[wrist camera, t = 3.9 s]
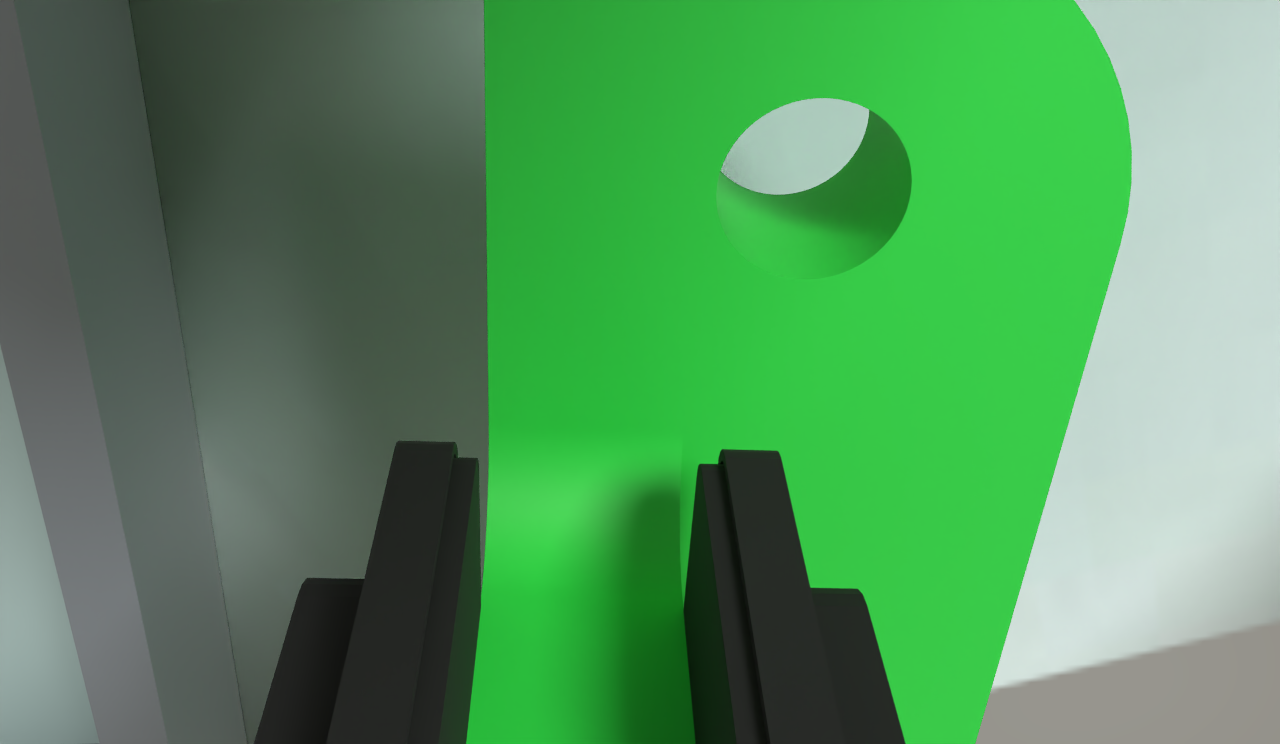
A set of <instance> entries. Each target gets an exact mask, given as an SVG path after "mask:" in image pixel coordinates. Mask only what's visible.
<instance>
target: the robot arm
mask: <svg viewBox="0 0 1280 744" xmlns="http://www.w3.org/2000/svg"><path fill="white" fill-rule="evenodd" d="M480 612H481V571H480V509H479V463H478V458H458V453H457V445H456V443H455V442H421V441H398V442H397V443H396V446H395V450H394V454H393V458H392V463H391V467H390V471H389V475H388V480H387V484H386V488H385V493H384V497H383V501H382V506H381V510H380V514H379V518H378V523H377V527H376V531H375V536H374V540H373V544H372V548H371V553H370V557H369V561H368V566H367V570H366V574H365V579H331V578H307V579H306V580H305V581H304V582H303V584H302V586H301V589H300V591H299V594H298V597H297V600H296V604H295V607H294V610H293V614H292V617H291V620H290V624H289V627H288V630H287V634H286V637H285V641H284V644H283V647H282V651H281V654H280V657H279V661H278V664H277V668H276V671H275V674H274V678H273V681H272V684H271V688H270V691H269V695H268V698H267V701H266V705H265V708H264V711H263V715H262V718H261V722H260V725H259V728H258V732H257V735H256V738H255V742H254V744H466V741H467V731H468V722H469V713H470V704H471V695H472V686H473V676H474V667H475V658H476V649H477V640H478V631H479V621H480ZM683 613H684V624H685V635H686V646H687V657H688V667H689V678H690V689H691V700H692V711H693V722H694V733H695V744H906V743H905V740H904V736H903V732H902V729H901V725H900V722H899V718H898V714H897V711H896V707H895V704H894V700H893V696H892V693H891V689H890V686H889V682H888V678H887V675H886V671H885V668H884V664H883V660H882V657H881V653H880V650H879V646H878V642H877V639H876V635H875V631H874V628H873V624H872V621H871V617H870V613H869V610H868V606H867V604H866V601H865V598H864V596H863V594H862V593H861V592H860V590H859V589H853V588H810V584H809V579H808V575H807V570H806V566H805V561H804V557H803V552H802V548H801V544H800V539H799V535H798V530H797V526H796V521H795V517H794V512H793V508H792V503H791V499H790V494H789V490H788V486H787V481H786V477H785V472H784V468H783V463H782V459H781V456H780V453H779V452H778V451H772V450H734V449H722V450H721V451H720V455H719V459H718V464H699V466H698V470H697V478H696V488H695V498H694V508H693V518H692V528H691V538H690V548H689V558H688V568H687V578H686V588H685V598H684V608H683Z"/></svg>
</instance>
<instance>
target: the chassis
mask: <svg viewBox="0 0 1280 744" xmlns="http://www.w3.org/2000/svg"><path fill="white" fill-rule="evenodd" d="M0 744H247V739H246V733H245V727H244V721H243V714H242V708H241V702H240V696H239V689H238V683H237V677H236V671H235V664H234V658H233V652H232V645H231V639H230V633H229V627H228V620H227V614H226V608H225V602H224V595H223V589H222V583H221V577H220V570H219V564H218V558H217V552H216V545H215V539H214V533H213V527H212V520H211V514H210V508H209V501H208V495H207V489H206V483H205V476H204V470H203V464H202V458H201V451H200V445H199V439H198V433H197V426H196V420H195V414H194V408H193V401H192V395H191V389H190V383H189V376H188V370H187V364H186V357H185V351H184V345H183V339H182V332H181V326H180V320H179V314H178V307H177V301H176V295H175V289H174V282H173V276H172V270H171V264H170V257H169V251H168V245H167V239H166V232H165V226H164V220H163V213H162V207H161V201H160V195H159V188H158V182H157V176H156V170H155V163H154V157H153V151H152V145H151V138H150V132H149V126H148V120H147V113H146V107H145V101H144V95H143V88H142V82H141V76H140V69H139V63H138V57H137V51H136V44H135V38H134V32H133V26H132V19H131V13H130V7H129V1H128V0H0Z"/></svg>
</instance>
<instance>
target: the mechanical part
mask: <svg viewBox="0 0 1280 744" xmlns="http://www.w3.org/2000/svg"><path fill="white" fill-rule="evenodd" d="M484 46H485V138H486V230H487V321H488V413H489V463H488V501H487V524H486V542H485V558H484V571H483V583H482V593H481V612H480V621H479V631H478V640H477V649H476V658H475V667H474V676H473V686H472V695H471V704H470V713H469V722H468V731H467V741H466V744H695V733H694V722H693V711H692V700H691V689H690V678H689V667H688V657H687V646H686V635H685V624H684V613H683V608H684V598H685V588H686V578H687V568H688V558H689V548H690V538H691V528H692V518H693V508H694V498H695V488H696V478H697V470H698V466H699V464H718V459H719V455H720V451H721V450H722V449H734V450H772V451H778V452H779V453H780V456H781V459H782V463H783V468H784V472H785V477H786V481H787V486H788V490H789V494H790V499H791V503H792V508H793V512H794V517H795V521H796V526H797V530H798V535H799V539H800V544H801V548H802V552H803V557H804V561H805V566H806V570H807V575H808V579H809V584H810V588H853V589H859V590H860V592H861V593H862V594H863V596H864V598H865V601H866V604H867V606H868V610H869V613H870V617H871V621H872V624H873V628H874V631H875V635H876V639H877V642H878V646H879V650H880V653H881V657H882V660H883V664H884V668H885V671H886V675H887V678H888V682H889V686H890V689H891V693H892V696H893V700H894V704H895V707H896V711H897V714H898V718H899V722H900V725H901V729H902V732H903V736H904V740H905V743H906V744H975V743H976V739H977V735H978V732H979V729H980V725H981V722H982V719H983V715H984V711H985V708H986V705H987V701H988V698H989V694H990V691H991V688H992V684H993V681H994V677H995V674H996V670H997V667H998V663H999V660H1000V657H1001V653H1002V650H1003V646H1004V643H1005V639H1006V636H1007V632H1008V629H1009V626H1010V622H1011V619H1012V615H1013V612H1014V608H1015V605H1016V601H1017V598H1018V595H1019V591H1020V588H1021V584H1022V581H1023V577H1024V574H1025V571H1026V567H1027V564H1028V560H1029V557H1030V553H1031V550H1032V546H1033V543H1034V540H1035V536H1036V533H1037V529H1038V526H1039V522H1040V519H1041V515H1042V512H1043V509H1044V505H1045V502H1046V498H1047V495H1048V491H1049V488H1050V484H1051V481H1052V478H1053V474H1054V471H1055V467H1056V464H1057V460H1058V457H1059V453H1060V450H1061V447H1062V443H1063V440H1064V436H1065V433H1066V429H1067V426H1068V423H1069V419H1070V416H1071V412H1072V409H1073V405H1074V402H1075V398H1076V395H1077V392H1078V388H1079V385H1080V381H1081V378H1082V374H1083V371H1084V367H1085V364H1086V361H1087V357H1088V354H1089V350H1090V347H1091V343H1092V340H1093V336H1094V333H1095V330H1096V326H1097V323H1098V319H1099V316H1100V312H1101V309H1102V306H1103V302H1104V299H1105V295H1106V292H1107V288H1108V285H1109V281H1110V278H1111V275H1112V271H1113V268H1114V264H1115V261H1116V257H1117V254H1118V250H1119V247H1120V244H1121V239H1122V235H1123V231H1124V226H1125V222H1126V218H1127V214H1128V206H1129V197H1130V189H1131V160H1132V150H1131V141H1130V132H1129V123H1128V117H1127V113H1126V109H1125V104H1124V100H1123V96H1122V92H1121V88H1120V85H1119V82H1118V80H1117V77H1116V74H1115V72H1114V69H1113V66H1112V64H1111V61H1110V58H1109V56H1108V54H1107V52H1106V51H1105V49H1104V47H1103V45H1102V43H1101V41H1100V39H1099V37H1098V35H1097V33H1096V31H1095V29H1094V28H1093V27H1092V25H1091V24H1090V22H1089V21H1088V19H1087V18H1086V17H1085V15H1084V14H1083V12H1082V11H1081V9H1080V8H1079V6H1078V5H1077V4H1076V2H1075V1H1074V0H484ZM813 98H833V99H841V100H845V101H850V102H853V103H856V104H859V105H861V106H863V107H865V108H867V109H869V119H868V125H867V128H866V132H865V135H864V137H863V140H862V142H861V144H860V146H859V148H858V150H857V151H856V153H855V154H854V156H853V157H852V158H851V160H850V161H849V162H848V163H847V164H846V165H845V166H844V167H843V168H842V169H841V170H840V171H839V172H838V173H837V174H836V175H834V176H833V177H832V178H830V179H829V180H827V181H826V182H824V183H822V184H820V185H818V186H816V187H814V188H811V189H809V190H806V191H802V192H798V193H794V194H786V195H771V194H763V193H758V192H755V191H751V190H748V189H746V188H744V187H741V186H740V185H738V184H736V183H734V182H733V181H731V180H730V179H729V178H727V177H726V176H725V175H724V174H723V173H722V172H721V168H722V165H723V162H724V160H725V158H726V156H727V154H728V152H729V151H730V149H731V147H732V146H733V144H734V143H735V142H736V140H737V139H738V138H739V137H740V135H741V134H742V133H743V132H744V131H745V130H746V129H747V128H748V127H749V126H750V125H752V124H753V123H754V122H755V121H757V120H758V119H759V118H761V117H762V116H764V115H765V114H767V113H769V112H771V111H772V110H774V109H776V108H779V107H781V106H783V105H786V104H789V103H792V102H796V101H800V100H805V99H813Z"/></svg>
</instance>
